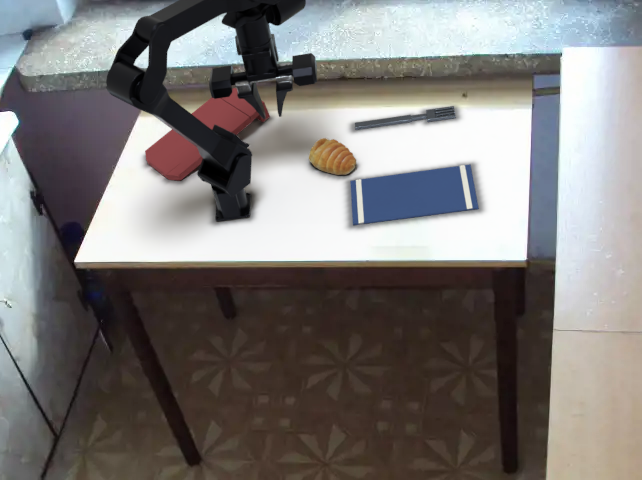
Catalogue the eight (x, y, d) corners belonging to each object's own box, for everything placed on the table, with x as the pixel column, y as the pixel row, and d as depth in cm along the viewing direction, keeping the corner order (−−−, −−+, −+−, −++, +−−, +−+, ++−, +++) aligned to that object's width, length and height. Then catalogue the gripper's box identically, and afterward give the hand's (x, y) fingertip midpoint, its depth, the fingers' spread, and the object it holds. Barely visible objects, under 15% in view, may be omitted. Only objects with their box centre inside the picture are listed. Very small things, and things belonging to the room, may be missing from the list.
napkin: (478, 209, 165) (478, 207, 164) (353, 225, 168) (352, 223, 167) (470, 165, 172) (470, 164, 172) (350, 182, 175) (350, 180, 175)
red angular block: (182, 197, 186) (276, 120, 191) (172, 179, 182) (268, 101, 187) (149, 172, 193) (241, 98, 198) (139, 154, 189) (233, 79, 194)
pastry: (365, 163, 178) (363, 146, 175) (341, 183, 175) (338, 166, 173) (329, 146, 183) (326, 130, 180) (305, 165, 180) (302, 149, 178)
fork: (455, 118, 182) (455, 115, 182) (355, 132, 184) (355, 129, 184) (453, 108, 184) (453, 105, 184) (354, 122, 186) (354, 120, 186)
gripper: (309, 5, 164) (322, 83, 176) (204, 22, 166) (224, 98, 178) (309, 40, 157) (323, 119, 169) (199, 57, 159) (221, 134, 171)
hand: (272, 116), depth 172 cm, fingers open, 3 cm apart
